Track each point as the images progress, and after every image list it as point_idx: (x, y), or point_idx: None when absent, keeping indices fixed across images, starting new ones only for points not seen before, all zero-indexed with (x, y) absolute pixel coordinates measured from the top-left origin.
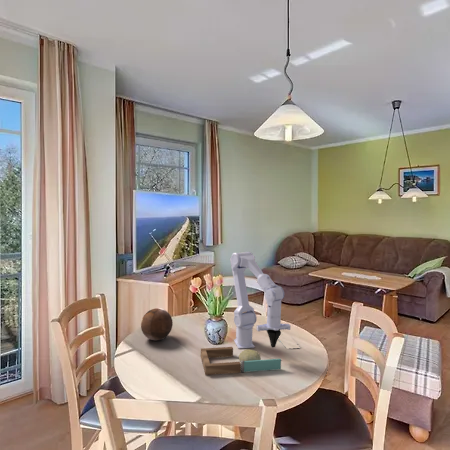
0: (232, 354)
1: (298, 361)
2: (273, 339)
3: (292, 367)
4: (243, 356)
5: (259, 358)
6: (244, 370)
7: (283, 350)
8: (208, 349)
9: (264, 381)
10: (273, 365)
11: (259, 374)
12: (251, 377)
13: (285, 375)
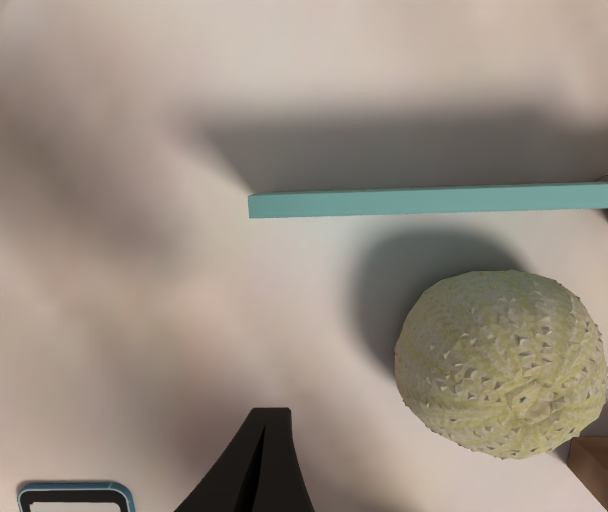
0: (589, 450)
1: (86, 308)
2: (268, 499)
3: (157, 221)
4: (600, 346)
5: (436, 311)
6: (603, 181)
7: (159, 474)
8: None
9: (472, 5)
10: (333, 191)
11: (470, 136)
12: (559, 91)
13: (253, 94)
